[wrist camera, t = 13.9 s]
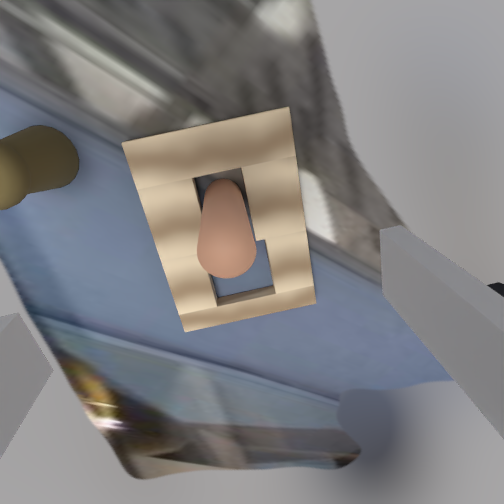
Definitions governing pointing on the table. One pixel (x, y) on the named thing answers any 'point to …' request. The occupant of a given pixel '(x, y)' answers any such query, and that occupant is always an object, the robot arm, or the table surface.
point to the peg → (225, 232)
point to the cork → (35, 163)
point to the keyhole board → (260, 205)
